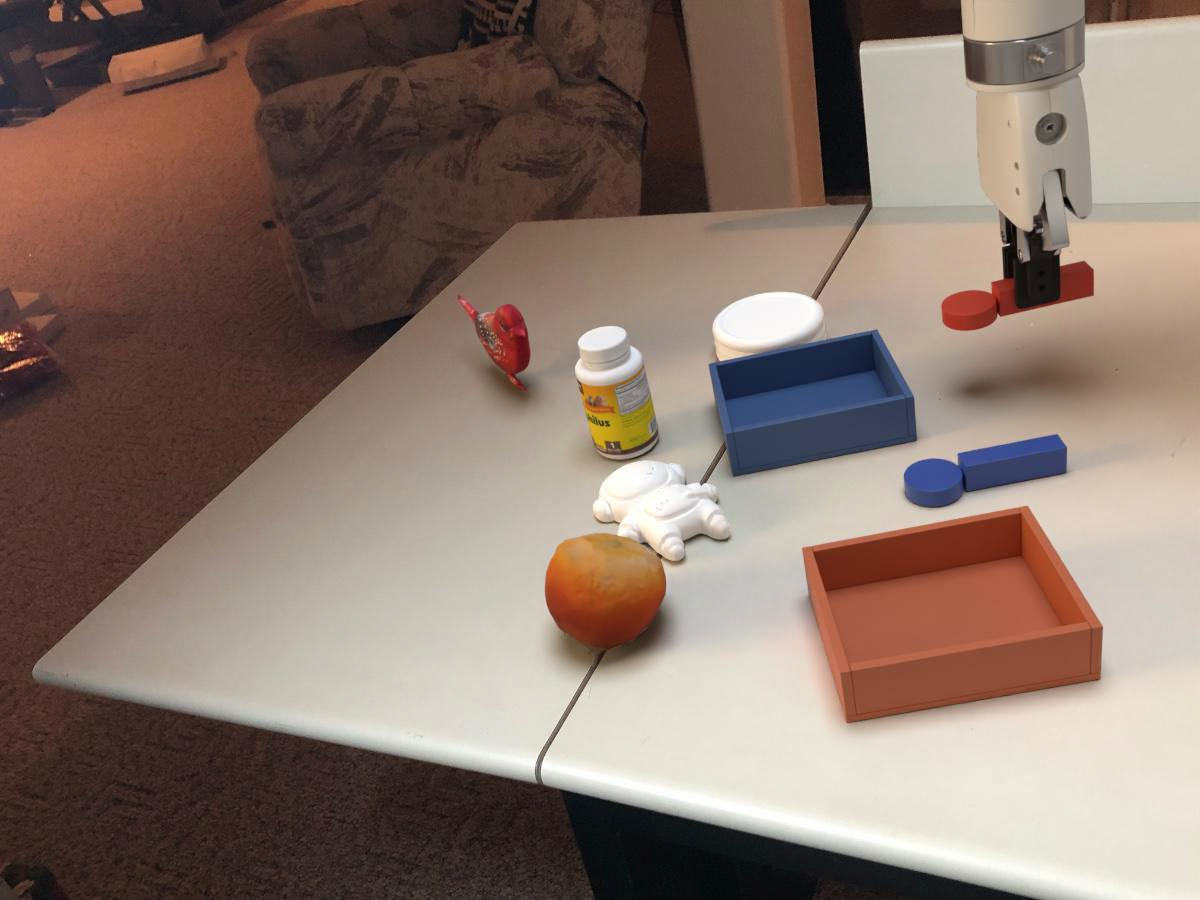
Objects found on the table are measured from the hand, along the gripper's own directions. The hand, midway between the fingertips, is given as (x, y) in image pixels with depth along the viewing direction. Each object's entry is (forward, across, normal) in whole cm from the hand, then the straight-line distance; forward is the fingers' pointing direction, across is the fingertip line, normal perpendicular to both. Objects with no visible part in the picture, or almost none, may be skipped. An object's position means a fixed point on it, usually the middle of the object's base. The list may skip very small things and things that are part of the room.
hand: (1031, 295), depth 82 cm
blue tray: (+7, 0, +18) cm, 19 cm away
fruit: (+7, -20, +35) cm, 41 cm away
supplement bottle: (+7, +2, +33) cm, 34 cm away
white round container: (+7, +13, +19) cm, 24 cm away
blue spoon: (+7, -12, +8) cm, 16 cm away
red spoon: (+1, 0, +1) cm, 1 cm away
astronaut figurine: (+7, -9, +31) cm, 33 cm away
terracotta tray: (+7, -26, +15) cm, 31 cm away
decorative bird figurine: (+6, +18, +44) cm, 48 cm away
